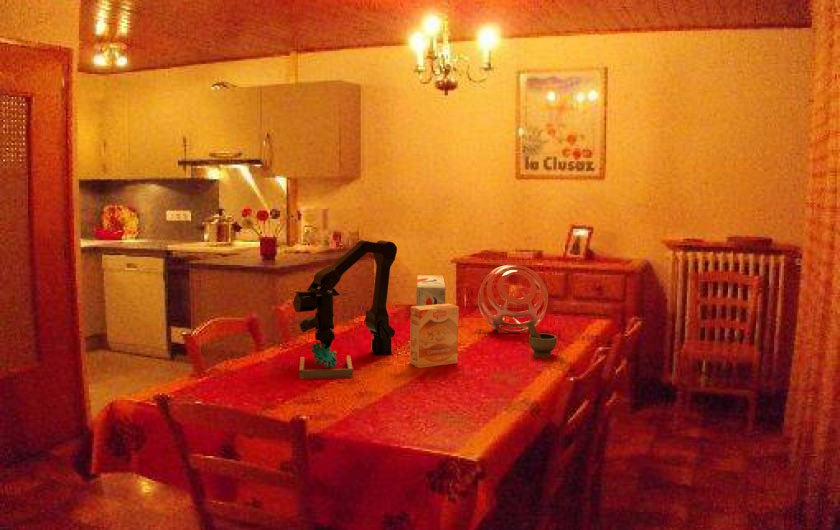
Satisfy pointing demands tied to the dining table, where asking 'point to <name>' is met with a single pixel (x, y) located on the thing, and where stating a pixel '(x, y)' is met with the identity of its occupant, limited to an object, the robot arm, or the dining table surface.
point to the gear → (324, 355)
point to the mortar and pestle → (541, 341)
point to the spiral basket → (513, 299)
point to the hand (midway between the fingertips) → (325, 354)
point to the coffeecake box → (434, 335)
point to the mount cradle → (326, 371)
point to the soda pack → (430, 290)
